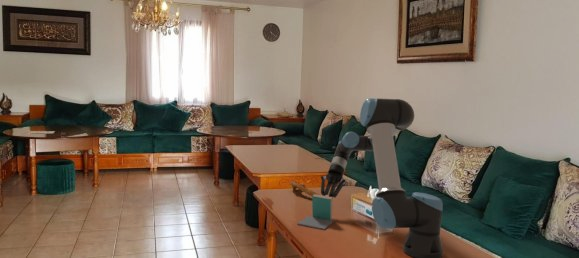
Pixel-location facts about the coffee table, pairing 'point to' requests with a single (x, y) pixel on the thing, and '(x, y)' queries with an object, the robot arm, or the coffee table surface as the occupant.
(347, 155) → the robot arm
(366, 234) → the coffee table surface
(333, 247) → the coffee table surface
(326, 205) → the tile
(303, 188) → the brown curved bar
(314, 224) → the pad
